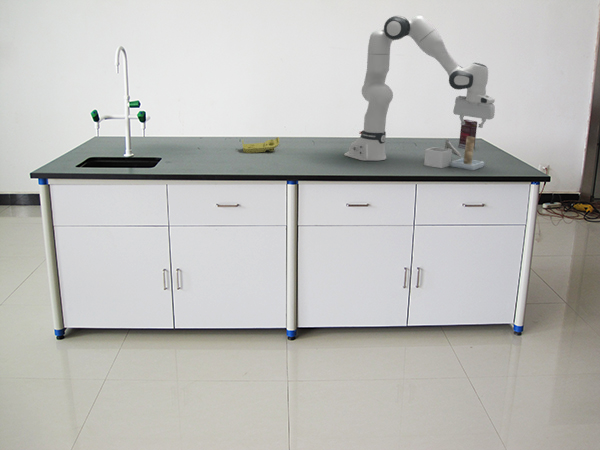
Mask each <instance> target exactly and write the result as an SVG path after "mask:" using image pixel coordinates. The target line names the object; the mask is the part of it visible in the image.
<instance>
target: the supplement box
mask: <svg viewBox="0 0 600 450" xmlns="http://www.w3.org/2000/svg"><path fill="white" fill-rule="evenodd" d="M464 121H465V125H461V124H460V133H459V134H460V135H459V140H458V141H459V142H458V148H461V149H465V147H466V139H467V137H475V139H476V138H477V130H478V129H477V128H478V121H477V120H473V119H472V120H470V119H464ZM475 145H476V141H475V142H474V148H475Z"/></svg>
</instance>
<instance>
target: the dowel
mask: <svg viewBox="0 0 600 450" xmlns="http://www.w3.org/2000/svg"><path fill="white" fill-rule="evenodd" d="M474 142H475V143H476V138H475V137H467V139H466V147H465V148H464V155H463V158H464V162H463V163H464V164H470V165H471V164H472V160H473V157H474V156H473V155H474V150H475V147H474Z"/></svg>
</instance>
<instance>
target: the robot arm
mask: <svg viewBox="0 0 600 450" xmlns="http://www.w3.org/2000/svg"><path fill="white" fill-rule="evenodd" d="M404 37H410V38H411V39H413V41H414V43H415V44H416V45H417V47H419V49H420V50H421V51H422V52H423V53H425V54H426V55H427V56H430V57H431V58H433V59H435V60H436V61H437V62H438V63H439V64H440V66H441V67H442V68H443V69H444V71H445V72H446V73H447V75H448V83H449V86H451V88H452V89H454V90H457V91H458V90H465V89H466V96H462V95H458V96H456V97H455V98H454V99H455V100H454V103H455V104H454V107H453V111H452V112H453V114H454V115H456V116H457V115H458V116H459V120H460V126H461V125H465V121H464V120H465V119H464V117H470V118H476V119H477V118H478V119H481V123H478V125H477V128H479V129H482V128H483V126H484V125H485V122H487V120H488V121H489V120H492V119H494V117H495V110H496V109H495V105H494V103H495V100H496V99H495V98H493V96H489V95H487V94H486V93H487V89H486V88H487V84H488V82H489V81H488V79H489V68H488V67H487V65H485V64H483V63H480V62H479V63H478V62H472V63H471V64H469V65H467V66H464V67H463V66H461V65H459V64H458V63H457V61H456V60H455V59H454V57H452V55H451V54H450V53H449V51H448V49H447V48H446V45H445V42H444V40H443V38H442V36H441V35H440V33H439V31H438V30H437V29H436V28H435V26H434V25H433V24H432V22H430V20H428V19H427V18H426V17H425V16H423V15H421V14H417V15H415V16H413V17H412V18H410V19H407V18H406V17H405V16H402V15H394V16H391V17H389V18H388V19H387V20H386V21H385V22H384V25H383V29H378V30H377V29H376V30H374V31H372V32H371V34H370V36H369V39H368V45H367V62H366V71H365V72H366V73H365V77H364V82H363V85H362V87H361V95H362V97H363V98H364V100H365V101H366V102H368V105H367V109H366V112H365V114H364V117H363V118H364V120H363V121H364V122H363V130H362V131H359V132H358V133H359V136H360V137H358V138H357V139H356V140H354V141H352V142H351V143H350V144H349V148H348V151H347V152H345V153H344V156H345V157H349V158H352V159H356V160H360V161H364V162H365V161H378V162H379V161H384V160H387V155H386V149H385V148H386V146H385V145H386V144H385V142H386V136H387V133H386V123H387V114H388V112H389V111H388V110H389V108H390V104H391V102H392V101H393V97H394V93H393V90H392V89H391V87H390V86H389V85H387V84H386V79H387V76H388V72H389V70H390V61H391V60H390V59H391V58H390V57H391V45H392V42H393V41H396V40H401V39H403V38H404Z"/></svg>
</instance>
